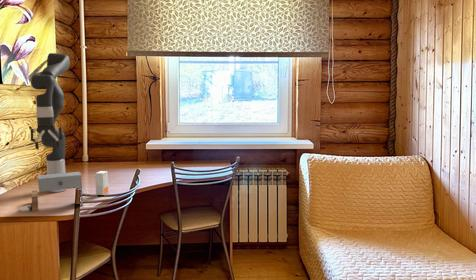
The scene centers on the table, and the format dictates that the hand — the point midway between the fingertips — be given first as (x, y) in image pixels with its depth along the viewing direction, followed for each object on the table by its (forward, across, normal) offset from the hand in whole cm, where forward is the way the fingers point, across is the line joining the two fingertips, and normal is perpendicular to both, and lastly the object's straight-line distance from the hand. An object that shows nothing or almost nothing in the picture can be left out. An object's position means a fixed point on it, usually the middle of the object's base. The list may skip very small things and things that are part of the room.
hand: (47, 149), depth 210 cm
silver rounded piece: (+26, +11, +14) cm, 32 cm away
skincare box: (+26, -25, -1) cm, 36 cm away
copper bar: (+26, +7, +8) cm, 28 cm away
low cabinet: (+26, -4, +14) cm, 30 cm away
